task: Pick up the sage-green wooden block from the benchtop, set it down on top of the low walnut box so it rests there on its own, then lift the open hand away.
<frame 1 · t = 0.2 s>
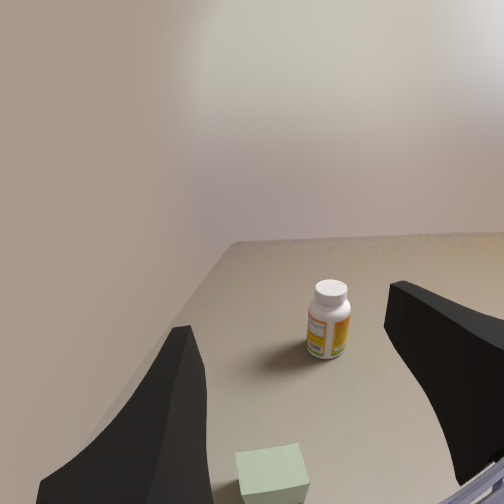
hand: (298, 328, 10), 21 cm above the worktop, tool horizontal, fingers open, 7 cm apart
sage-green block: (272, 490, 20), on the worktop
supplement bottle: (325, 348, 38), on the worktop
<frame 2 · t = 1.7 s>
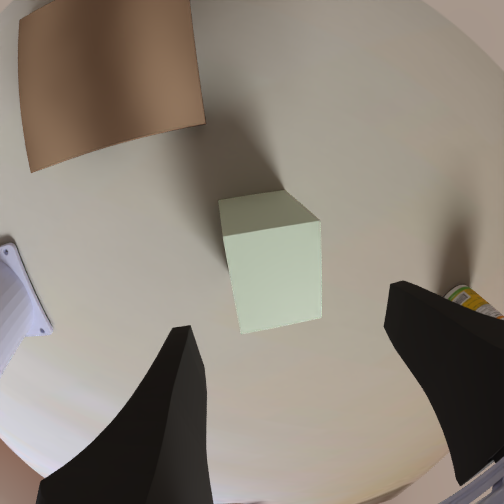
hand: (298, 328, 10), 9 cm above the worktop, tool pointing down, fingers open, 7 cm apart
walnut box: (112, 65, 13), on the worktop
sage-green block: (256, 233, 18), on the worktop
supplement bottle: (450, 305, 24), on the worktop
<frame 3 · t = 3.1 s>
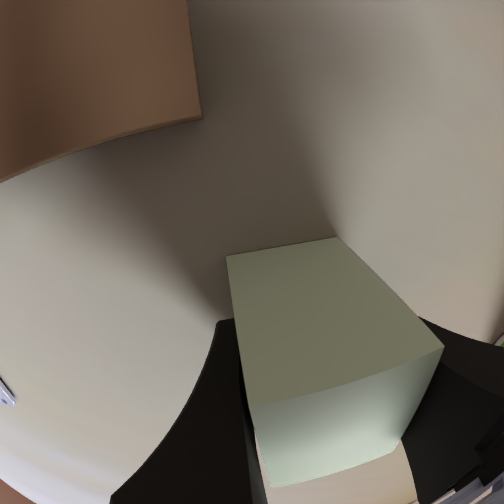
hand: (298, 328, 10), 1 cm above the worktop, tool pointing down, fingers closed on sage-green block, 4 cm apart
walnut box: (51, 32, 6), on the worktop
sage-green block: (288, 305, 11), on the worktop, touching gripper
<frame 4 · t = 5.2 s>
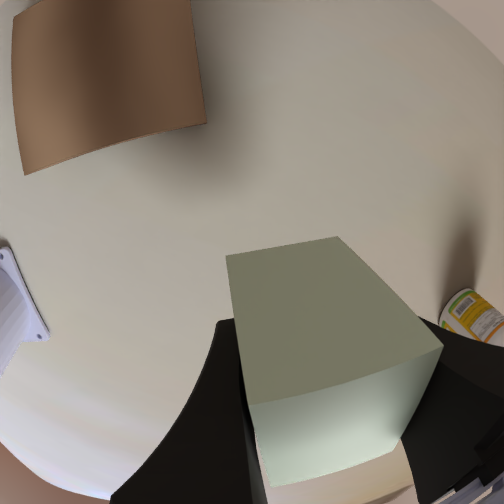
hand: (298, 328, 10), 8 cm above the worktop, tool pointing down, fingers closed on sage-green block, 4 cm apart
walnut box: (109, 63, 12), on the worktop
sage-green block: (288, 305, 11), point 7 cm above the worktop, touching gripper
supplement bottle: (455, 309, 24), on the worktop
when the fingers open (6 cm above the worktop, at t = 7.4 s): sage-green block drops 2 cm, resting on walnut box.
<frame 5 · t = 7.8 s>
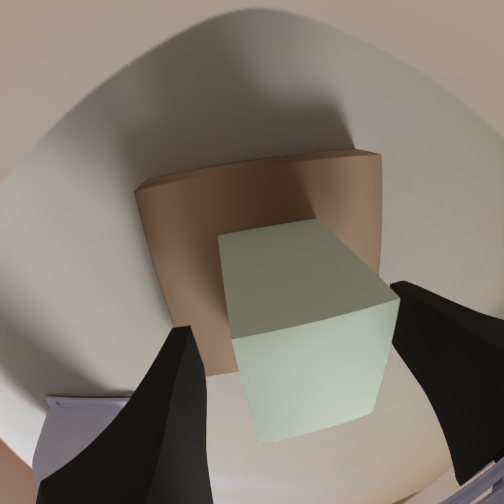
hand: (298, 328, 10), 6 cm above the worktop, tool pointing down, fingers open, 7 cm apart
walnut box: (266, 254, 15), on the worktop, touching sage-green block
sage-green block: (274, 280, 12), point 2 cm above the worktop, touching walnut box
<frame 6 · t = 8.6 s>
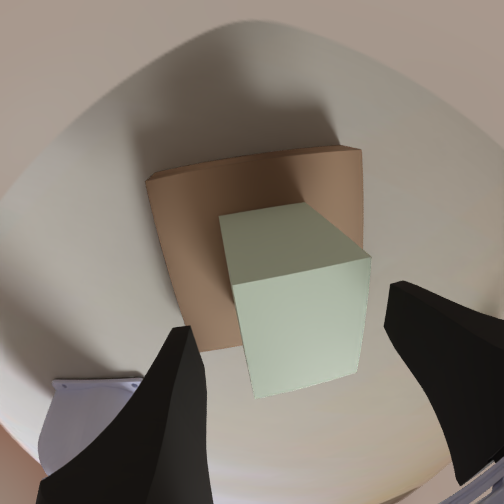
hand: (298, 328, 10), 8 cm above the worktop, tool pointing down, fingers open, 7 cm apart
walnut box: (260, 239, 17), on the worktop, touching sage-green block
sage-green block: (268, 258, 14), point 2 cm above the worktop, touching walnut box
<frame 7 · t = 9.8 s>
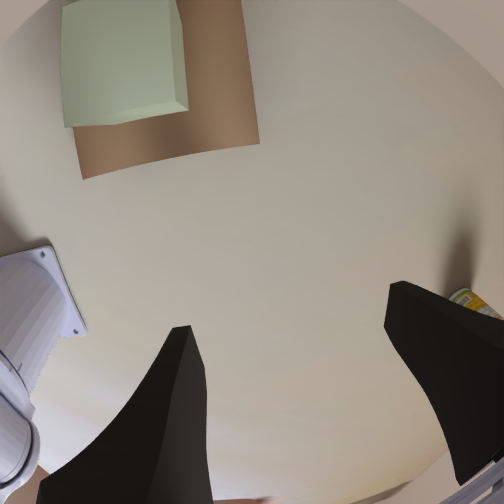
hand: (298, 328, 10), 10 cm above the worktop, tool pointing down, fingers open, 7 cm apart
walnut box: (161, 78, 15), on the worktop, touching sage-green block
sage-green block: (147, 72, 12), point 2 cm above the worktop, touching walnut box
supplement bottle: (454, 306, 26), on the worktop
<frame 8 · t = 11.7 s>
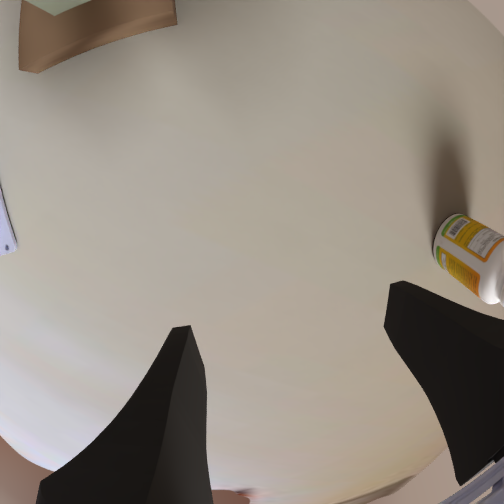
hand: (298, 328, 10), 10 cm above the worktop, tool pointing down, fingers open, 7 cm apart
supplement bottle: (450, 239, 22), on the worktop
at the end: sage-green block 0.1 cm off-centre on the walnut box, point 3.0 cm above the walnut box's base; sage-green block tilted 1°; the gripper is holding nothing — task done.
